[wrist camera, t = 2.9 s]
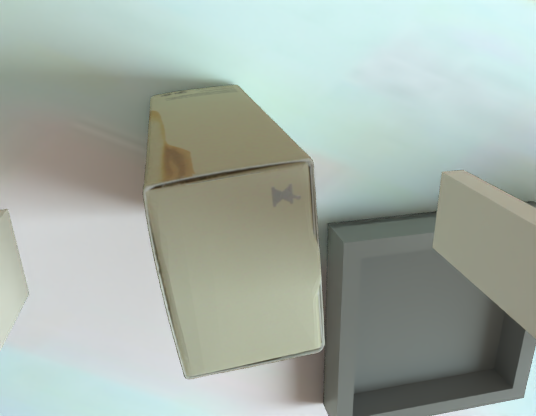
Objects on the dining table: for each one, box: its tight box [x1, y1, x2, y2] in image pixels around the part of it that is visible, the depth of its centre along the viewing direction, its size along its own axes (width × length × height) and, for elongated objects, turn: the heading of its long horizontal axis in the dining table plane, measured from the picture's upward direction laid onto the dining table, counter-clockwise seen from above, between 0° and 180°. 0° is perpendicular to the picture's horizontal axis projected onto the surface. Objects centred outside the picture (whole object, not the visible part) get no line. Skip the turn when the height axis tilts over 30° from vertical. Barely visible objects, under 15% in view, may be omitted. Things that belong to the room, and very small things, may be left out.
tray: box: [323, 201, 536, 416], centre depth 29 cm, size 13×13×2 cm
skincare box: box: [143, 85, 325, 379], centre depth 18 cm, size 6×4×12 cm
